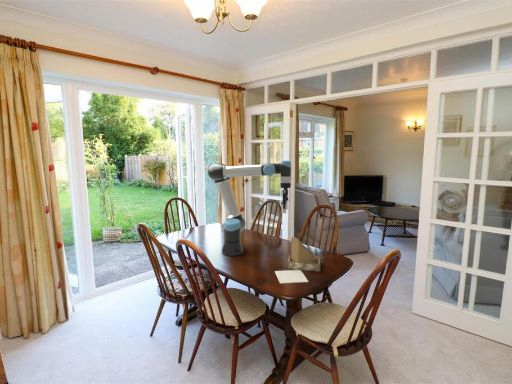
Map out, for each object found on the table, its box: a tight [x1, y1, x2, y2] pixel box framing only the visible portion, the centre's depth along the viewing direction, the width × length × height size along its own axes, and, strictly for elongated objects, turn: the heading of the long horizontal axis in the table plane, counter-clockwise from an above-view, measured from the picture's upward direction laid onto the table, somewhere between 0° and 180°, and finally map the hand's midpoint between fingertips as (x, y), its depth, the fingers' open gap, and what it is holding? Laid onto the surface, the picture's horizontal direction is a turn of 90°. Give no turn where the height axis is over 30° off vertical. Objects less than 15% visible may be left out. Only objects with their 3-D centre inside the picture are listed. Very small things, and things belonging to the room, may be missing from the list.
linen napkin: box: [274, 269, 309, 285], centre depth 170 cm, size 16×16×1 cm
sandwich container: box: [290, 236, 318, 263], centre depth 185 cm, size 9×15×15 cm, turn 114°
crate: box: [286, 253, 321, 272], centre depth 186 cm, size 20×15×5 cm
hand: (285, 211), depth 213 cm, fingers open, 13 cm apart
